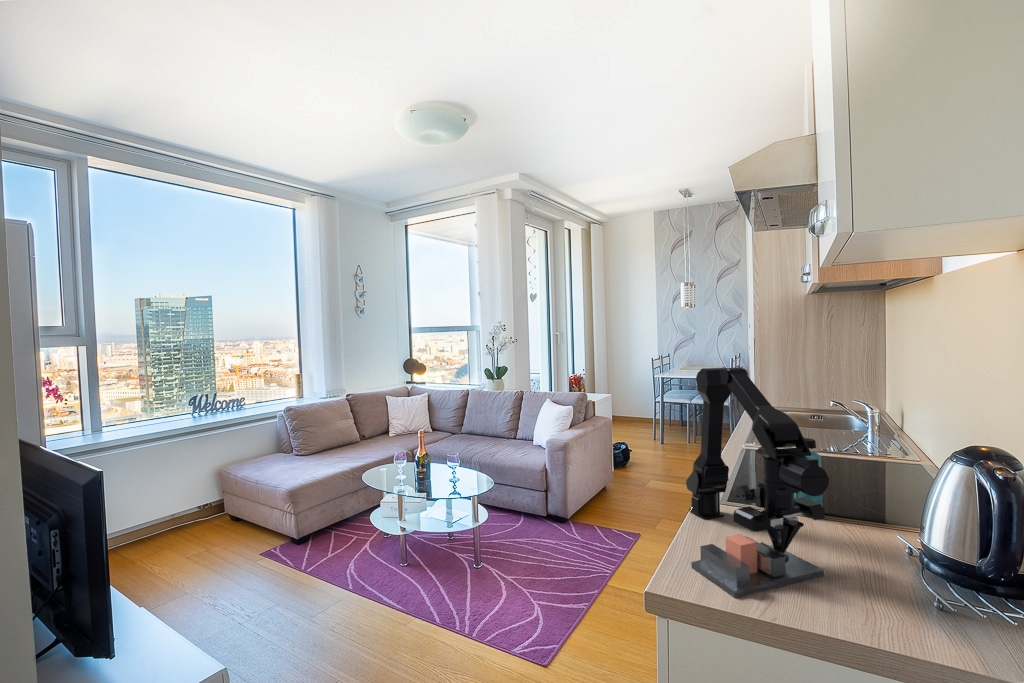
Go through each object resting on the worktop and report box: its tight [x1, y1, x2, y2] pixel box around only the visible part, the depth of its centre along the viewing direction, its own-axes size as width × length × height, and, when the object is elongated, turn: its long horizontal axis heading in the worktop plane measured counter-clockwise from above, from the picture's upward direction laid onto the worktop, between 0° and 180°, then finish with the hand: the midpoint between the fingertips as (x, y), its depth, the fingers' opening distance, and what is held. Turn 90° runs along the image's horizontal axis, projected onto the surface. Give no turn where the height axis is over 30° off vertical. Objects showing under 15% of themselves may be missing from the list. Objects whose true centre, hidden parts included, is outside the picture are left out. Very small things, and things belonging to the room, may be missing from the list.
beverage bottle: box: [795, 437, 824, 508], centre depth 126 cm, size 6×7×20 cm
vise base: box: [690, 543, 825, 599], centre depth 97 cm, size 22×12×5 cm, turn 108°
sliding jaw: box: [745, 535, 789, 577], centre depth 98 cm, size 6×10×4 cm, turn 18°
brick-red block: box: [725, 534, 758, 574], centre depth 96 cm, size 4×4×6 cm
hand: (779, 554), depth 99 cm, fingers closed
